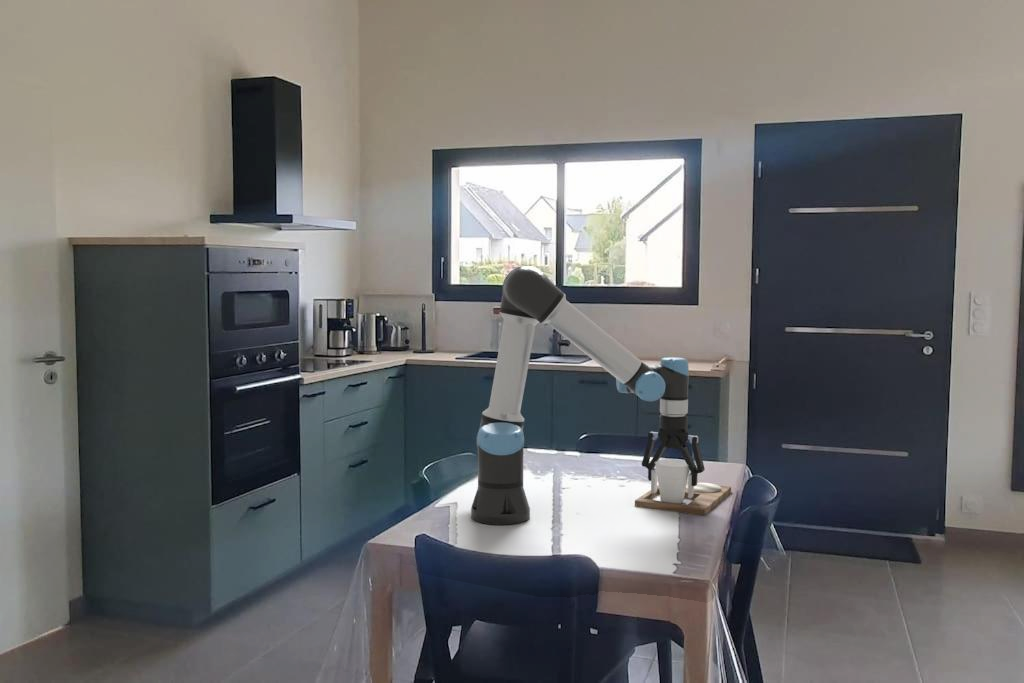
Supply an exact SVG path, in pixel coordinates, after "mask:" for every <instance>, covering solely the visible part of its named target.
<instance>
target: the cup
mask: <svg viewBox="0 0 1024 683" xmlns="http://www.w3.org/2000/svg"><path fill="white" fill-rule="evenodd" d="M655 464H656V465H655V468H656V471H657V485H659V491H660V494H659V495H660V496H659V497H660V501H664V502H671V503H679V504H683V503H684V500H685V498H684V496H685V490H686V484H687V482H688V474H690V469H689V467H688V466H689V465H687V463H686V461H685V459H679V458H661V459H659V460H658V461H657V462H655Z"/></svg>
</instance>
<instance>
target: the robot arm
mask: <svg viewBox="0 0 1024 683" xmlns="http://www.w3.org/2000/svg"><path fill="white" fill-rule="evenodd" d="M566 297H567V296H566V294H565V293H564V291H562V290H561V289H560V288H558V286H557V285H555V284H554V282H553V281H552V280H550V278H549V277H548V276H547V275H546V274H545V272H543V270H540V269H539V268H537V267H535V266H528V265H527V266H525V265H522V266H518V267H516V268H513V269H512V270H511V271H510V272H508V273H507V275H506V276H505V278H504V280H503V283H502V296H501V301H500V308H499V315H500V316H501V318H502V319H503V323H502V329H501V335H500V339H499V340H500V341H499V346H498V354H497V358H496V364H495V371H494V376H493V382H492V386H491V394H490V397H489V398H490V399H489V404H488V407H487V408H486V409H484V411H482V413H481V417H480V418H481V419H480V424H479V429H478V432H477V434H476V448H477V489H476V492H475V496H474V498H473V502H472V505H471V508H470V518H471V519H472V520H473V521H475V522H477V523H481V524H488V525H496V526H497V525H498V526H499V525H500V526H501V525H502V526H503V525H515V524H521V523H523V522H526V521H527V520H529V519H530V517H531V508H530V505H529V501H528V498H527V494H526V492H525V489H524V444H525V436H524V431H523V430H524V426H525V424H524V423H525V418H524V417H523V415H522V414H521V409H522V403H523V399H524V398H523V397H524V391H525V386H526V381H527V376H528V371H529V369H528V368H529V364H530V358H531V353H532V346H533V341H534V337H535V336H534V335H535V329H536V326H537V325H538V324H539V323H540V324H542V325H543V324H545V325H546V324H548V325H549V326H550V327H551V328H553V329H554V330H555V331H556V332H557V333H559V334H560V335H561V336H562V337H564V338H565V339H566V340H568V342H570V343H571V344H572V345H574V346H575V347H576V348H578V349H579V350H580V351H581V352H583V353H584V354H585V355H586V356H588V357H589V358H590V359H591V360H593V361H594V362H595V363H596V364H598V365H599V366H600V367H602V368H603V369H604V370H605V371H606V372H608V373H609V374H610V375H611V376H612V377H614V378H615V380H616V381H615V384H616V389H617V391H618V392H619V393H623V394H625V393H626V394H634V395H635V396H637V397H638V398H640V400H641V401H644V402H655V401H659V412H660V415H659V430H658V431H657V432H656V431H650V432H649V433H647V439H648V440H647V444H646V447H645V450H644V453H643V454H644V455H643V458H642V461H641V467H644V468H645V469H647V480H648V481H649V482H650V490H651V493H652V494H654V493H656V492H657V486H658V478H657V471H656V464H655V462H657V461H658V460H660V458H661V456H663V453H664V452H665V450H666V449H674V450H678V452H680V453H681V456H682V457H683V460H685V461H686V463H687V465H689V466H688V467H689V474H688V479H687V482H688V498H687V499H692V497H693V496H694V486H696V485H697V483H698V476H699V474H701V473H703V472H704V471H705V465H704V461H703V457H702V456H703V455H702V453H701V448H700V444H699V442H700V436H699V435H691V434H689V432H688V420H689V418H688V416H687V414H688V412H689V408H688V407H689V382H690V381H689V378H690V372H689V361H688V359H687V358H683V357H671V356H670V357H662V358H661V359H660V363H659V364H657V365H649V364H648V365H647V364H646V363H645V362H644V361H642V360H641V359H639V358H638V357H637V356H636V355H635V354H633V353H632V352H631V351H630V350H629V349H628V348H626V347H624V345H622V343H620V342H619V341H617V340H616V339H615V338H613V337H612V335H610V334H609V333H607V332H606V331H605V330H603V328H601V327H600V326H598V324H596V323H595V322H594V321H593V320H591V319H590V318H589V317H588V316H587V315H586V314H584V313H583V312H581V310H579V309H577V307H576V306H574V305H573V304H571V302H569V301H568V300H567V298H566ZM658 438H659V440H660V442H661V443H660V444H659V446H658V449H657V451H656V452H655V454H654V455H653V456H652V452H653V449H654V446H655V442H656V441H657V439H658ZM688 440H689V444H691V449H692V454H693V457H694V459H693V457H692V456H691V454H690V452H689V450H688V446H687V445H686V442H687V441H688ZM651 457H652V459H651ZM650 460H651V461H650ZM694 460H695V461H694Z"/></svg>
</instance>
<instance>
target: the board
mask: <svg viewBox="0 0 1024 683" xmlns="http://www.w3.org/2000/svg"><path fill="white" fill-rule="evenodd" d="M731 492H732V486H729V485H728V486H727V485H721V484H720V485H719V484H715V483H709V482H697V485H696V486H694V496H693V497H692V498H691V499H692V501H690V502H689V503H688V504H686V503H681V504H679V503H671V502H664V501H661V500H656V499H653V498H654V497H655V496H657V495H660V491H659V484H657V492H656V493H654V494H652V493H651V489H650V490H648V491H647V492H645V493H644V494H643V495H641V496H639V497H637V498H636V499H635V500H634V507H641V508H647V509H653V510H654V509H655V510H662V511H668V512H677V513H683V514H684V513H685V514H691V515H697V516H698V515H699V516H705V515H706V514H707V513H708V512H710V511H711V510H712V509H713V508H714V507H716V506H717V505H718V504H719V503H720V502H722V500H724V499H725V498H726V497H727V496H728V495H730V494H731ZM725 496H726V497H725ZM724 497H725V498H724ZM685 498H686V499H689V498H688V481H687V484H686V490H685V496H684V499H685ZM723 498H724V499H723Z"/></svg>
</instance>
